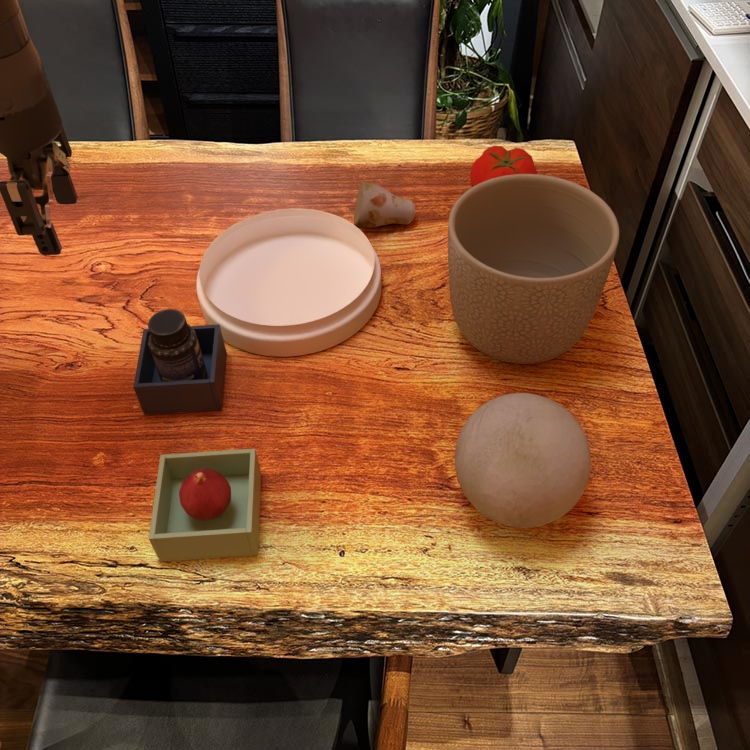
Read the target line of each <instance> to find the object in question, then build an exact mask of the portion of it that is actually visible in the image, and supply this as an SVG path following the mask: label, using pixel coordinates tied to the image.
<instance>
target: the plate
mask: <svg viewBox="0 0 750 750" xmlns="http://www.w3.org/2000/svg"><path fill="white" fill-rule="evenodd" d="M195 283H196V285H195V286H196V294H197V299H198V303H199V306H200V311H201V313H202V316H203V318H204V320H205V322H206V323H207V324H206V325H217V324H219V325H220V328H221V332H222V336H223V340H224V342H225V343H227V344H228V345H230V346H232V347H234V348H237V349H239V350H241V351H244V352H248V353H250V354H254V355H260V356H265V357H275V358H277V357H278V358H279V357H283V358H286V357H287V358H288V357H299V356H305V355H310V354H315V353H318V352H321V351H325V350H327V349H330V348H332V347H335V346H337V345H339V344H341V343H343V342H344V341H346V340H348V339H350V338H351V337H352V336H355V335H356V334H357V333H358V332H359V331H360V330H362V329H363V328H364V327H365V325H366V324H367V323H368V322H369V321H370V319H371V318H372V317H373V315H374V313H375V312H376V310H377V308H378V306H379V303H380V300H381V295H382V267H381V262H380V258H379V256H378V253H377V251H376V250H375V248H374V247H373V245H372V243H371V241H370V240H369V238H368V237H367V235H366V234H365V233H364V231H362V230H361V229H360V228H358V226H357V225H355V224H354V223H352V222H351V221H349V220H347V219H346V218H343V217H342V216H339V215H336V214H334V213H330V212H328V211H323V210H319V209H312V208H302V207H301V208H300V207H299V208H296V207H295V208H294V207H293V208H280V209H279V208H278V209H273V210H267V211H264V212H259V213H257V214H254V215H250V216H249V217H246V218H243V219H240V220H239V221H237V222H235V223H234V224H232V225H230V226H229V227H227V228H226V229H224V230H223V231H222V232H220V233H219V235H217V236H216V237H215V238H214V239H213V240H212V241H211V242H210V244H209V245H208V246H207V248H206V250H205V251H204V253H203V256H202V258H201V260H200V264H199V269H198V272H197V275H196V282H195Z"/></svg>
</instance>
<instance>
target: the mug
mask: <svg viewBox="0 0 750 750" xmlns="http://www.w3.org/2000/svg"><path fill="white" fill-rule="evenodd" d="M353 213H354V214H353V224H354V225H355V226H356V227H360V228H363V229H374V228H379V227H381V226H386V225H391V224H397V225H404V226H405V225H406V226H407V225H409V224H410V223H412V222H413V221H414V219H415V215H416V205H415V203H414V202H413V201H412V200H411V199H407V198H402V197H400V196H396V195H395V194H393V193H392V192H390V191H389V190H388V189H385V188H384V187H382V186H381V185H379V184H377V183H374V182H369V181H368V182H367V181H365V182H361V183H360V186H359V188H358V191H357V195H356V200H355V205H354V212H353Z"/></svg>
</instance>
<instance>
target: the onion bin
mask: <svg viewBox="0 0 750 750" xmlns="http://www.w3.org/2000/svg"><path fill="white" fill-rule="evenodd" d="M203 468H208V469H212V470H216V471H217V472H219V473H221V474H222V475H223V476H224V477H225V478H226V480H227V481H228V483H229V485H230V487H231V501H230V503H229V505H228V507H227V509H226V510H225V511H224V513H223V514H222V515H221V516H219V517H217V518H215V519H213V520H208V521H202V520H197V519H194V518H192V517H191V516H189V515H188V514H187V513H186V512H185V511H184V509H183V507H182V506H181V503H180V498H179V491H180V488H181V485H182V482H183V480H184V479H185V478H186V477H187V476H188V475H189V474H190V473H191V472H193V471H195V470H197V469H203ZM154 490H155V491H154V497H153V498H154V499H153V504H152V505H153V506H152V512H151V519H150V526H149V534H148V540H149V542H150V544H151V547H152V549H153V551H154V553H155V555H156V557H157V559H158V560H159V562H161V563H164V562H176V561H177V562H178V561H192V560H207V559H222V558H223V559H224V558H235V557H236V558H237V557H238V558H239V557H251V556H258V555H259V547H260V546H259V544H260V543H259V542H260V522H261V521H260V515H261V494H262V492H261V491H262V470H261V467H260V463H259V458H258V454H257V449H256V448H241V449H226V450H211V451H210V450H209V451H197V452H180V453H178V452H177V453H167V454H166V453H165V454H160V456H159V461H158V470H157V476H156V484H155V489H154Z"/></svg>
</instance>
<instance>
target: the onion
mask: <svg viewBox="0 0 750 750" xmlns="http://www.w3.org/2000/svg"><path fill="white" fill-rule="evenodd" d="M179 498H180V503H181V506H182V507H183V509H184V511H185V512H186V513H187V514H188V515H189V516H191V517H192V518H194V519H197V520H202V521H208V520H213V519H215V518H217V517H219V516H221V515H222V514H223V513H224V511H225V510H226V509H227V507H228V505H229V503H230V501H231V487H230V485H229V483H228V481H227V480H226V478H225V477H224V476H223V475H222V474H221V473H219V472H217V471H216V470H212V469H208V468H203V469H197V470H195V471H193V472H191V473H190V474H189V475H188V476H187V477H186V478H185V479H184V480H183V482H182V485H181V488H180V491H179Z"/></svg>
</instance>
